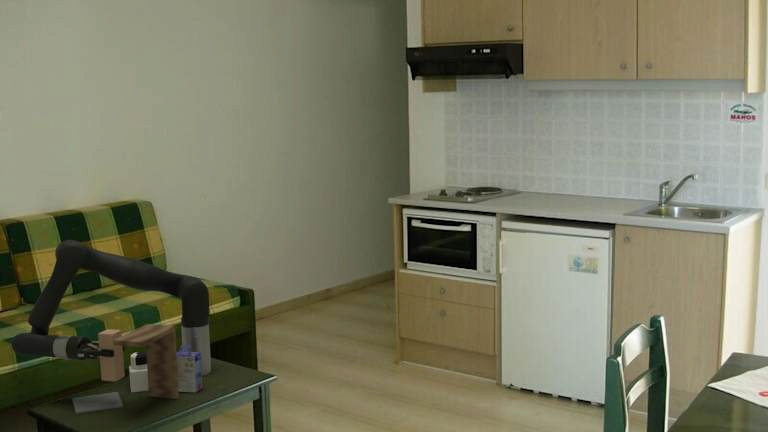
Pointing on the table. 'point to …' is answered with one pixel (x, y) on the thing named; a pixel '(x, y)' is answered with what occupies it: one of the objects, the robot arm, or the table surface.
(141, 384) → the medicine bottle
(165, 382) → the walnut shelf
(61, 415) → the table surface
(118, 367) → the terracotta carton
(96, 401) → the slate mat
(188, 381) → the ink cartridge box
